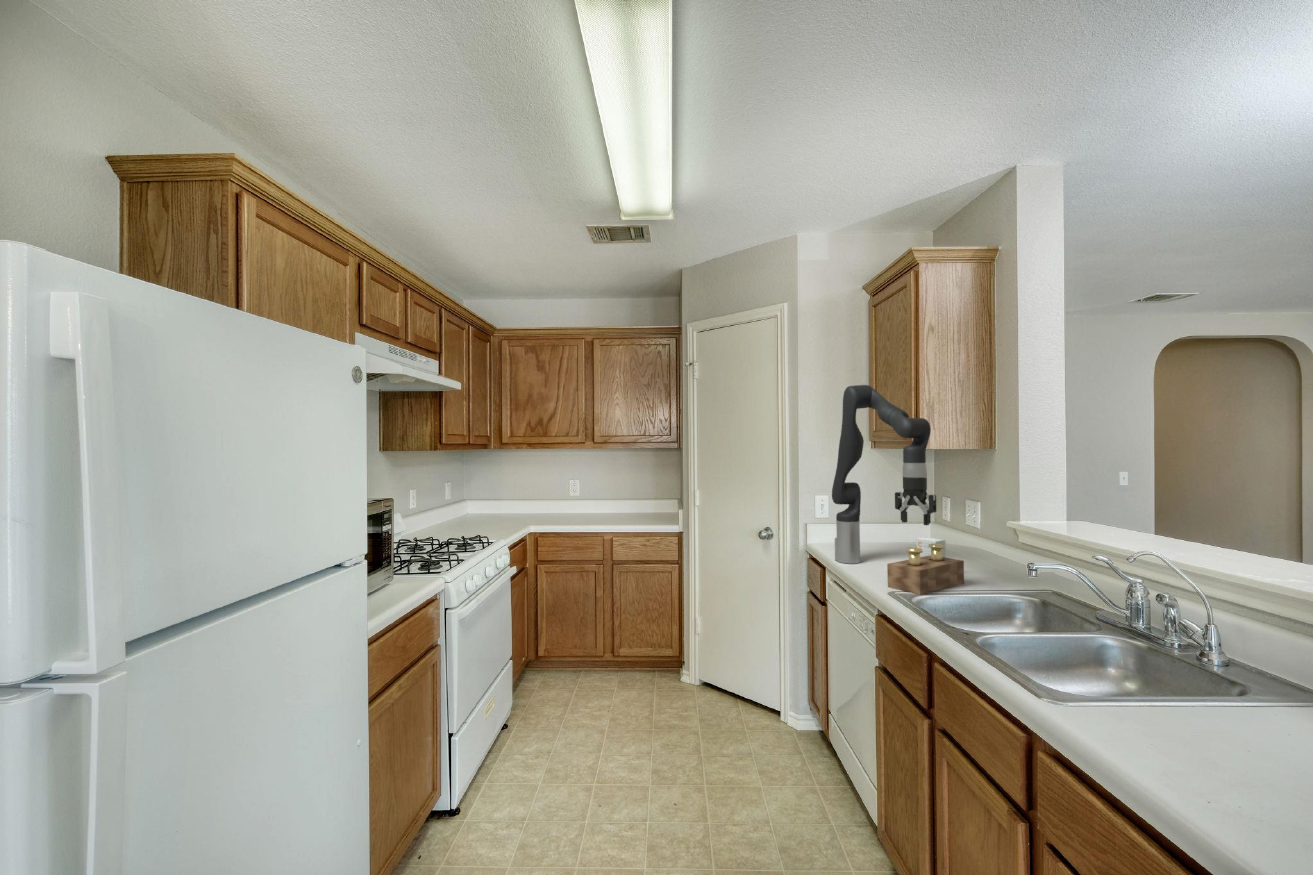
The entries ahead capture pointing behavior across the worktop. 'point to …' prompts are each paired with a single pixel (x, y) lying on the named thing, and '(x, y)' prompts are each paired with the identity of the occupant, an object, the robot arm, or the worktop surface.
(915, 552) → the plunger
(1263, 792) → the worktop surface
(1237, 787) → the worktop surface
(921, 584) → the socket block
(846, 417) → the robot arm
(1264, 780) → the worktop surface
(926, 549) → the small box
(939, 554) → the plunger
